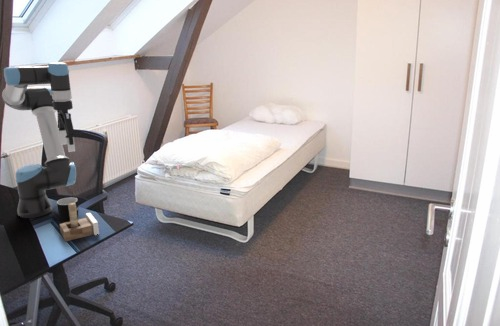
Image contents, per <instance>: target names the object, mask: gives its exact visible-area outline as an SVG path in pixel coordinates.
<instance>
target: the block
mask: <svg viewBox="0 0 500 326" xmlns="http://www.w3.org/2000/svg"><path fill="white" fill-rule="evenodd" d="M77 219H78V218H77ZM59 229H60V230H59V232H60V234H61V236H62V237H63V239H64V241H65V242H69V241H73V240H74V241H75V240H77V239H81V238H85V237H89V236H92V235H93V236H94V234H93V229H92V225H91V223H90V222H89V221H88V219H87V218H86V217H82V218H79V219H78V227H74V228H71V223H70V222H65V223H63V222H61V223H59Z"/></svg>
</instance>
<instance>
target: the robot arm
mask: <svg viewBox="0 0 500 326" xmlns="http://www.w3.org/2000/svg"><path fill="white" fill-rule="evenodd" d="M3 76H4V81H5V85H6V87H5V88H4V89H3V90H2V92H1V100H2V101H3V103H4V104H5V105H6V106H7V107H10V108H11V109H14V110H17V111H31V115H34V116H35V117H36V121H37V123H38V124H37V125H38V127H39V128H38V129H39V132H40V133H39V134H40V137H41V140H42V144H43V145H42V146H43V147H44V153H45V157H46V161H45V162H44V166H42V164H40V163H32V164H27V165H24V166H22V167H20V168H18V169H17V170H16V171H15V183H16V186H17V192H18V198H19V199H18V200H19V201H18V204H17V209H16V211H17V212H16V213H17V216H18V217H19V216H20V218H22V219H34V218H39V217H42V216H43V217H44V216H45V215H47V214H49V213H51V212H52V211H53V208H52V207H53V206H52V203H51V202H50V199H49V198H48V196H47V192H46V191H48V190H53V189H59V188H63V187H66V188H67V187H68V186H72V185H75V183H76V180H77V168H76V164H75V162H74V161H71V159H70V157H68V156H66V153H65V149H64V145H67V150H68V151H67V152H68V153H72V152H74V153H75V152H76V144H75V143H76V142H75V136H76V135H75V130H74V125H73V121H72V120H73V119H72V116H71V115H72V114H71V113H69V112H68V111H70V110H72V109H73V100H72V99H73V97H72V90H71V83H70V70H69V66H68V64H67V63H66V62H49V63H48V64H47V66H46V65H43V66H41V65H40V66H10V67H9V66H8V67H5V68H4V69H3ZM30 85H31V86H30ZM33 85H37V86H33ZM38 85H40V86H38ZM45 85H46V86H45ZM56 112H57V118H56V114H55V113H56Z"/></svg>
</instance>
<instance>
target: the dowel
mask: <svg viewBox="0 0 500 326" xmlns="http://www.w3.org/2000/svg"><path fill="white" fill-rule="evenodd" d="M68 207H69V215H70V223H71V228H74V227H78V218H77V210H76V203H70V204H68Z"/></svg>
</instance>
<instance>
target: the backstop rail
mask: <svg viewBox="0 0 500 326" xmlns="http://www.w3.org/2000/svg"><path fill="white" fill-rule="evenodd" d="M85 218H87V219H88V221H89V222H90V223H91V225H92V229H93V236H94V235H95V236H98V235H100V231H99V222H98V220H97V219H96V218H95V216H93V214H92V213H91V212H86V213H85ZM97 234H98V235H97Z"/></svg>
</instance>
